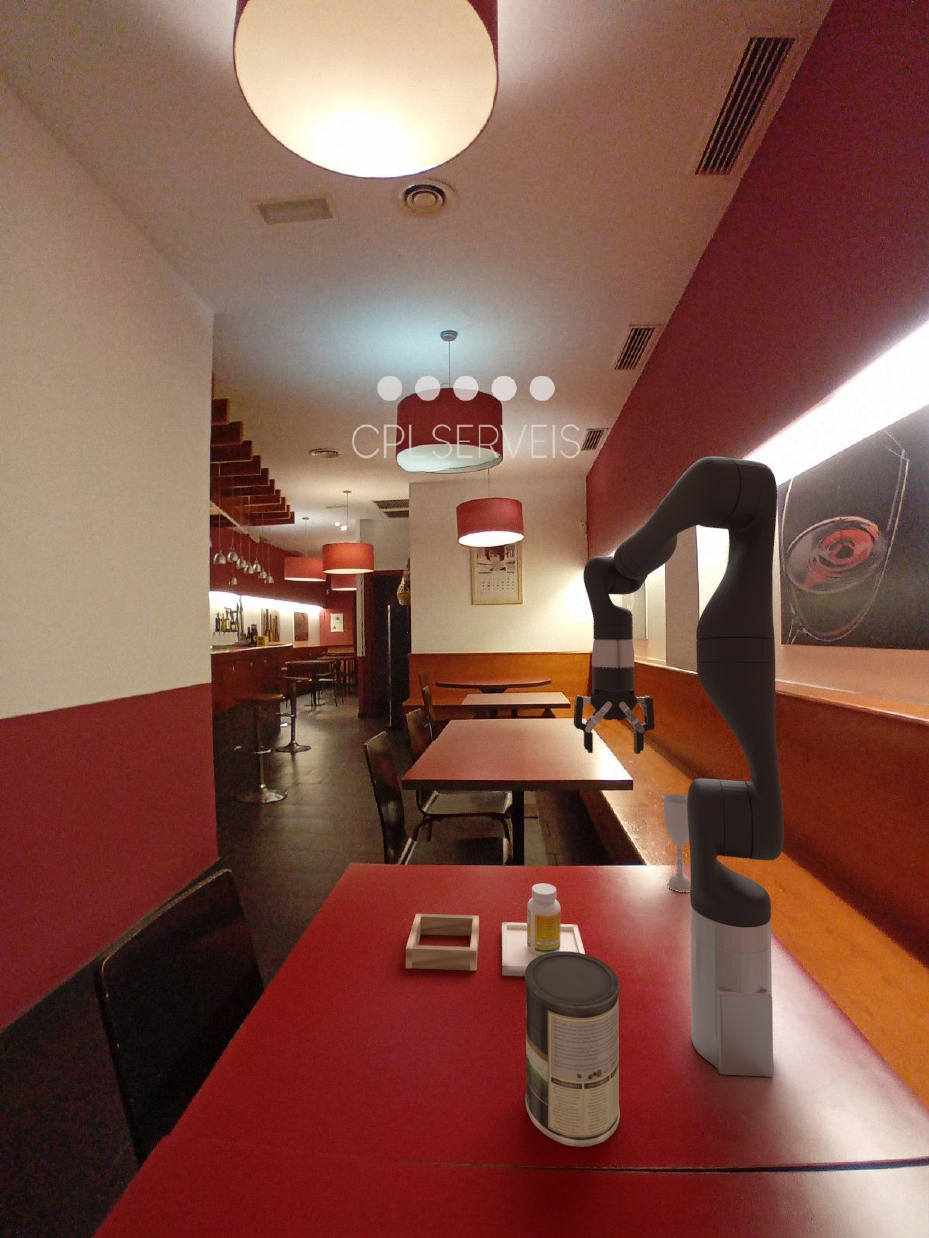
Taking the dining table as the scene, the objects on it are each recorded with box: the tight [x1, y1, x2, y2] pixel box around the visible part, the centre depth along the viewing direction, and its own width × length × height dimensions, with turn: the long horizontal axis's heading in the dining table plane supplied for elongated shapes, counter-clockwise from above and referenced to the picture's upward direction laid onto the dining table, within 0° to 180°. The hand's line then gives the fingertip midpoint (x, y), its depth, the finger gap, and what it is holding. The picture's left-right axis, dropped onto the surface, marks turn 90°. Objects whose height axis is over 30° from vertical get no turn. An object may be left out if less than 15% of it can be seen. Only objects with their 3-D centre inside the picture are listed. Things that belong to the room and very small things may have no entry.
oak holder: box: [405, 913, 480, 972], centre depth 94 cm, size 11×11×3 cm
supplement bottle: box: [526, 883, 561, 955], centre depth 93 cm, size 5×5×10 cm
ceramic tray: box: [501, 921, 586, 977], centre depth 93 cm, size 13×13×2 cm
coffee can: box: [524, 951, 621, 1148], centre depth 63 cm, size 10×10×14 cm
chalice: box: [661, 793, 691, 892], centre depth 117 cm, size 7×7×18 cm
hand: (613, 752), depth 104 cm, fingers open, 8 cm apart
